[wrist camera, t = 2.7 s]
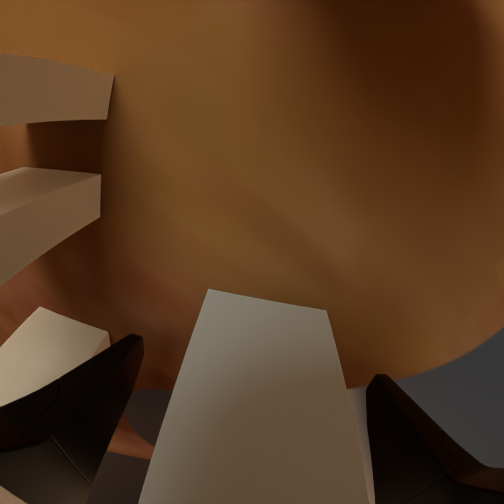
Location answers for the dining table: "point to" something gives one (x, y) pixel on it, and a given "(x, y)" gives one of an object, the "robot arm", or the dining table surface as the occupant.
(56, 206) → the domino
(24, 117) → the domino
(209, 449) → the domino
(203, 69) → the dining table surface
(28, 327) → the domino
